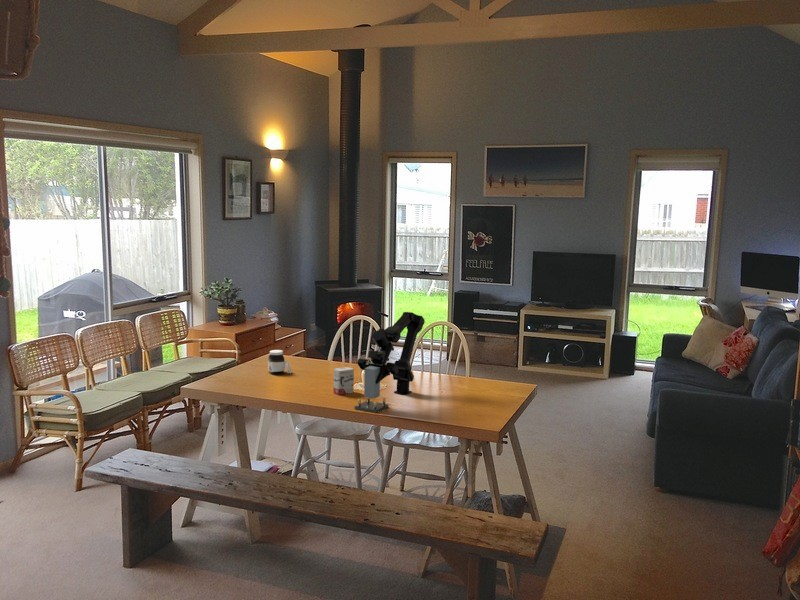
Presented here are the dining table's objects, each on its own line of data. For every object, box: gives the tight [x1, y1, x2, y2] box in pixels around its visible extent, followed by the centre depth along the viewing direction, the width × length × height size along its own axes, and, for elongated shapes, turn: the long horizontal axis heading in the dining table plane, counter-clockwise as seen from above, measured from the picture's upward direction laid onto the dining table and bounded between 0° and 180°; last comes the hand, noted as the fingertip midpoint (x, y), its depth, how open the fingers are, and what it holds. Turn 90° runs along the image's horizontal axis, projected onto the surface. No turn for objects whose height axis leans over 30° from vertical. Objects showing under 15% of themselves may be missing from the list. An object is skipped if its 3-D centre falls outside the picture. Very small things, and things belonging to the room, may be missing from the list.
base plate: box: [354, 397, 389, 414], centre depth 307 cm, size 11×11×4 cm
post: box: [363, 366, 381, 400], centre depth 306 cm, size 5×5×13 cm
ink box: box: [333, 366, 355, 396], centre depth 330 cm, size 9×5×12 cm, turn 126°
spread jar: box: [267, 349, 292, 375], centre depth 366 cm, size 12×11×12 cm
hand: (370, 382), depth 305 cm, fingers closed on post, 5 cm apart
